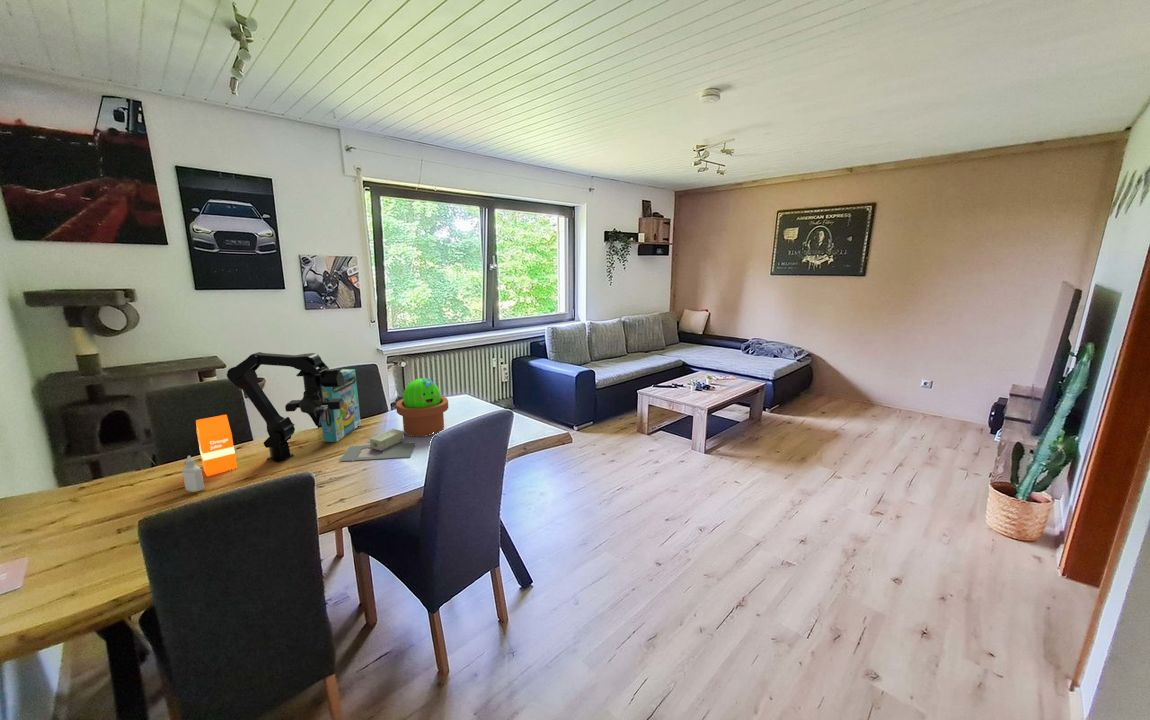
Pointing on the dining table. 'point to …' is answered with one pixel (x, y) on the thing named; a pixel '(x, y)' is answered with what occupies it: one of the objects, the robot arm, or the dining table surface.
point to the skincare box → (386, 439)
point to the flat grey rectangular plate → (389, 453)
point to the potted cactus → (422, 408)
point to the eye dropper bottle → (192, 476)
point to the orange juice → (216, 444)
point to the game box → (341, 409)
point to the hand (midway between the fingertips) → (317, 425)
